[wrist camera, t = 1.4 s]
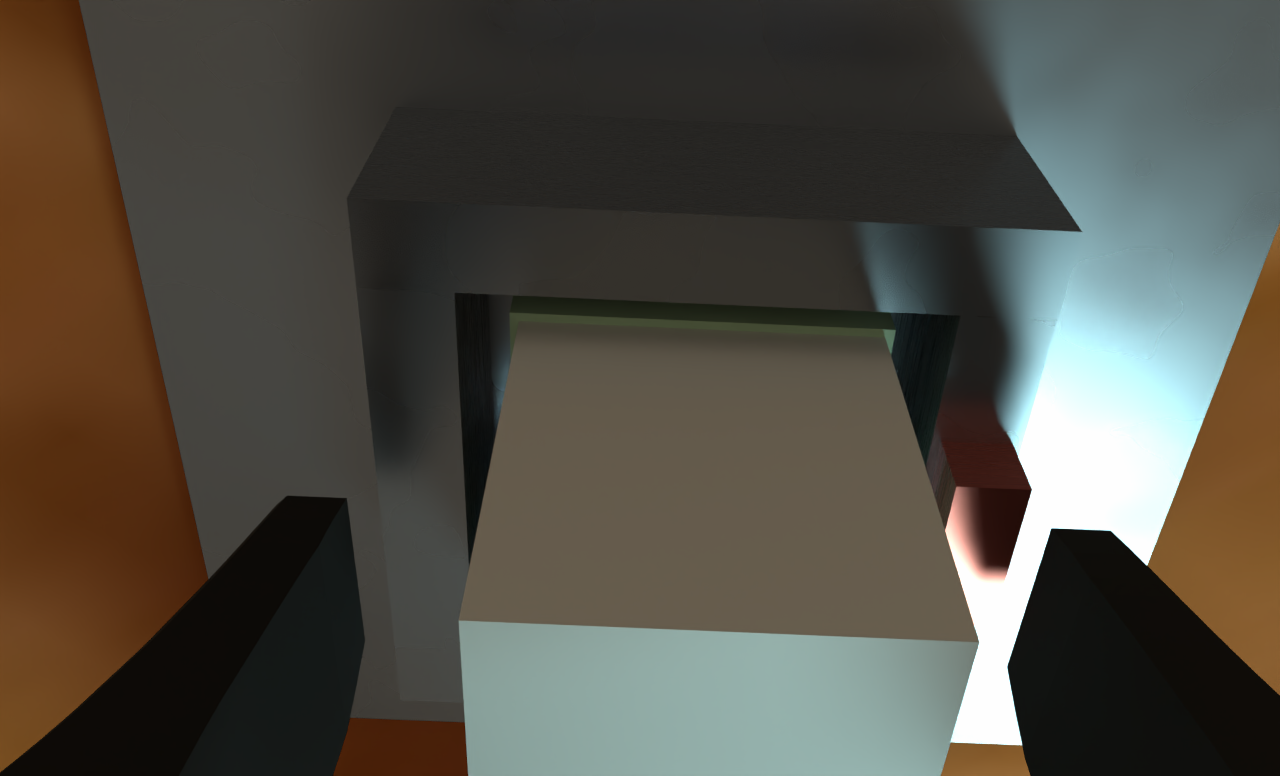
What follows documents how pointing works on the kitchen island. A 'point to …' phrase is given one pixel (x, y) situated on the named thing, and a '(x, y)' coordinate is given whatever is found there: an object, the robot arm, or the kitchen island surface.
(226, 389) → the stand base
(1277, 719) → the robot arm
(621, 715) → the pale grey block
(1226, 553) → the kitchen island surface
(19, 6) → the kitchen island surface
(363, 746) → the kitchen island surface
